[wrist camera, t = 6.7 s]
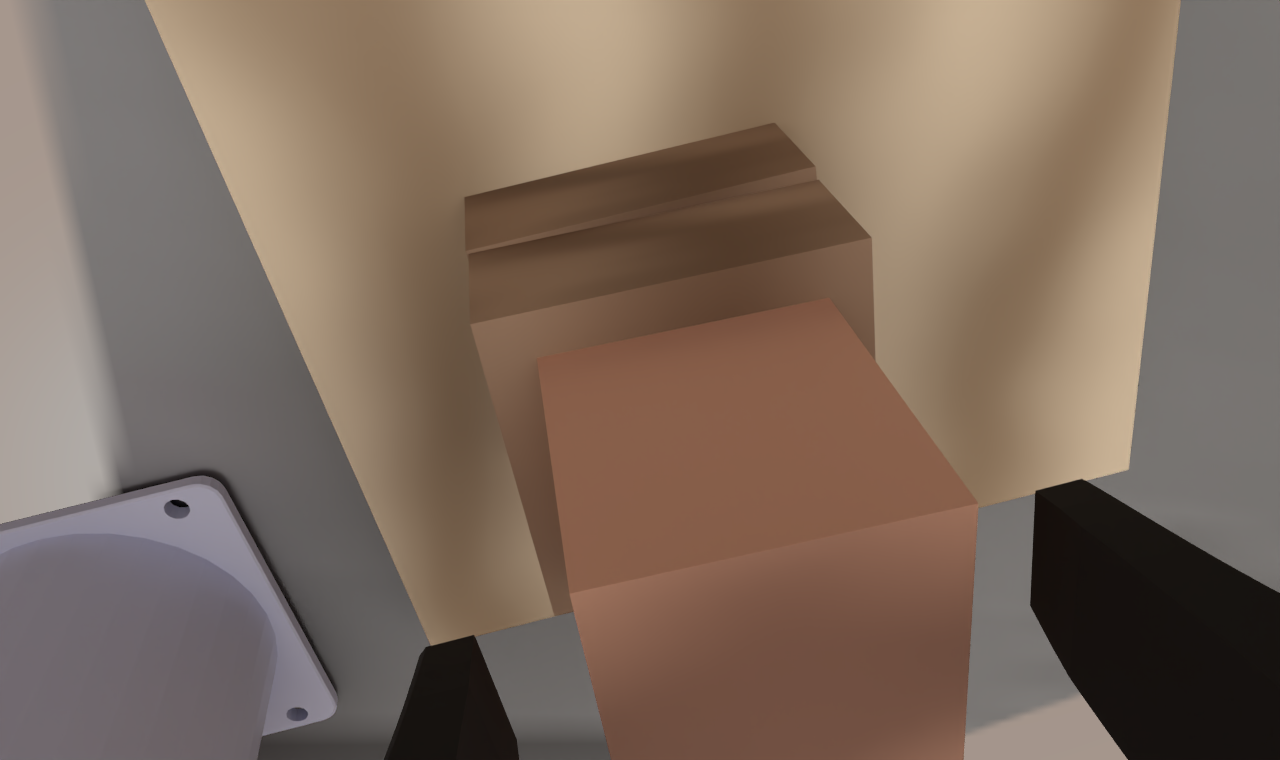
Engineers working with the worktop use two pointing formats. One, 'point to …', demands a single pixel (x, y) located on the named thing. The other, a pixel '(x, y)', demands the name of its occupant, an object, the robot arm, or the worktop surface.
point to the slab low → (636, 187)
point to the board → (667, 117)
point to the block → (761, 545)
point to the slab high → (649, 306)
